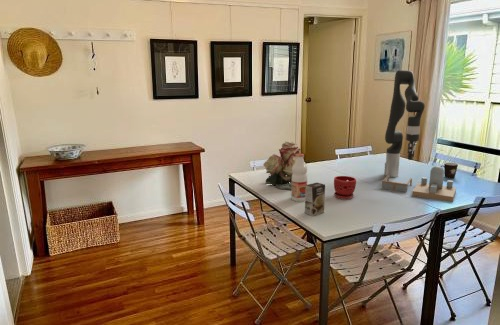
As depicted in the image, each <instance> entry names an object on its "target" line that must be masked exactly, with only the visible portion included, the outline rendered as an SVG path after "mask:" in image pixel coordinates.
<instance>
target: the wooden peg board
mask: <svg viewBox="0 0 500 325" xmlns="http://www.w3.org/2000/svg"><path fill="white" fill-rule="evenodd" d="M440 166H441V165H434V166H433V167H431V169H430V172H429V173H430V174H429V181H428V177H426V176H425V177H424V176H422V177H421V181H420V182H417V184H416V185H415V187H414V188H413V189H412V192H411V193H412V196H413V197H418V198H419V197H420V198H424V199H425V198H426V199H432V200H438V201H444V202H453V201H454V198H455V195H456V192H457V187H455V186H453V184H454V180H450V179H449V180H447V181H446V185H444V178H445V174H444V167H443V166H442V167H440Z"/></svg>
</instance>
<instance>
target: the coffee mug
mask: <svg viewBox="0 0 500 325" xmlns="http://www.w3.org/2000/svg"><path fill="white" fill-rule="evenodd" d="M443 163H444V165H439V166H440V167H442V168H443V170H444V178H445V179H449V180H450V179H455V177H456V174H457V170H458V166H459V163H456V162H450V161H449V162H448V161H447V162H443Z"/></svg>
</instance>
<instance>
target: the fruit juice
mask: <svg viewBox="0 0 500 325" xmlns="http://www.w3.org/2000/svg"><path fill="white" fill-rule="evenodd" d="M304 159H305V154H304V153H299V154H296V161H295V164H294V165H293V166H292V172H293V174H292V186H291V189H290V190H291V200H292V201H294V202H305V193H306V185H308V175H307V172H308V166H307V164H306V163H305V160H304Z"/></svg>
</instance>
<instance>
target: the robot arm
mask: <svg viewBox="0 0 500 325" xmlns="http://www.w3.org/2000/svg"><path fill="white" fill-rule="evenodd" d="M393 81H394V83H393V93H392V94H393V95H392V100H391V104H390V110H389V111H390V112H389V117H388V118H389V119H388V124H387V127H386V131H385V135H384V140H385V143H386V144H389V145H390V146H389V147H387V149H386V154H385V155H386V158H385V163H384V173H383V175H384V176H385V177H386V176H387V175H389V178H396V177H397V178H398V177H399V174H400V172H399V171H400V170H399V169H400V160H401V150H402V148H403V139H404V135H403V132H402V131H401V130H396V128H397V125H398V123H399V122H400V121H401V119H402V118H403V116H404V114H405V110H406V112H408V113H415V114H414V115H411V116H408V118H407V128H406V137H405V140H406V141H409V142H408V146H407V154H408V156H407V160H408V161H412V160H413V158H414V157H415V151H416V147H417V145H416V144H417V142H418V141H420V134H421V126H420V125H421V118H422V114H423V113H424V111H425V107H426V104H425V102H424V100H419V94H418V93H417V90H416V82H415V75H414V73H413V71H412V70H405V69H404V70H401V69H399V70H397V71H396V72H395V75H394V80H393ZM401 85H407V87H406V88H405V91H404V96H403V94H402V92H401ZM404 97H405V99H404Z"/></svg>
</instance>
